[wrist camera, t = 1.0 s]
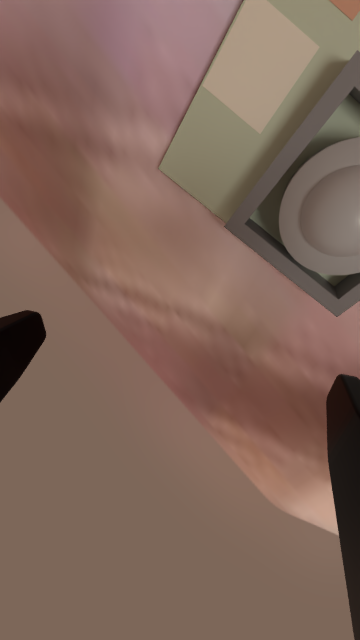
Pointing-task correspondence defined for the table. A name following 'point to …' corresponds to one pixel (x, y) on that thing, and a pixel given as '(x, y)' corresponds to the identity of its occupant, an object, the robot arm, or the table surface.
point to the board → (272, 123)
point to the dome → (325, 210)
